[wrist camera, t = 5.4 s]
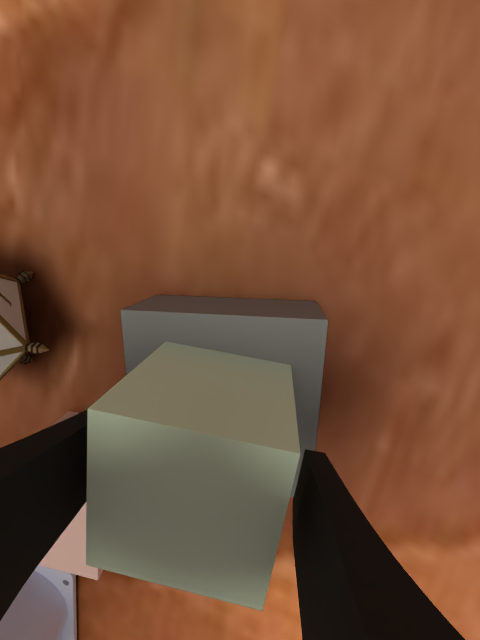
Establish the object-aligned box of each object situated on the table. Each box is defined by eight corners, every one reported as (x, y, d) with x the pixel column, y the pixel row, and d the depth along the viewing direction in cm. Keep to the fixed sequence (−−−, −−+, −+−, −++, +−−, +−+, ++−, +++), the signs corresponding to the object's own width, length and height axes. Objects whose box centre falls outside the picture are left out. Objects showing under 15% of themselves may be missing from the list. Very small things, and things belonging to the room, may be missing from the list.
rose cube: (144, 493, 19) (97, 580, 14) (70, 476, 19) (1, 555, 14) (148, 426, 17) (99, 496, 13) (69, 409, 18) (-8, 471, 13)
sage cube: (268, 471, 13) (262, 611, 8) (156, 446, 13) (85, 564, 8) (290, 364, 11) (300, 453, 6) (165, 341, 12) (87, 408, 7)
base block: (303, 439, 17) (310, 499, 13) (166, 426, 17) (135, 477, 14) (314, 299, 14) (328, 319, 11) (159, 293, 15) (120, 309, 12)
